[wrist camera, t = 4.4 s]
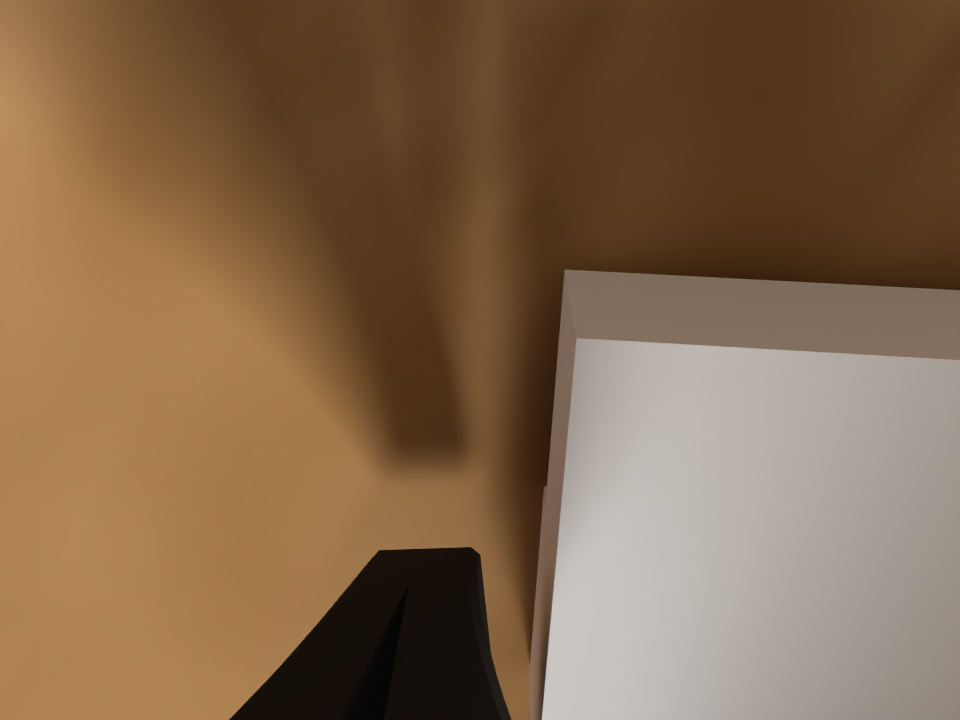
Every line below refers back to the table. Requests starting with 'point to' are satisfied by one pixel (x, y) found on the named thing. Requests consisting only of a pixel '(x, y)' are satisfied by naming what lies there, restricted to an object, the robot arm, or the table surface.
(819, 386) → the bracket
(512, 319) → the table surface
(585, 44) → the table surface
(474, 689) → the robot arm
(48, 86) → the table surface
